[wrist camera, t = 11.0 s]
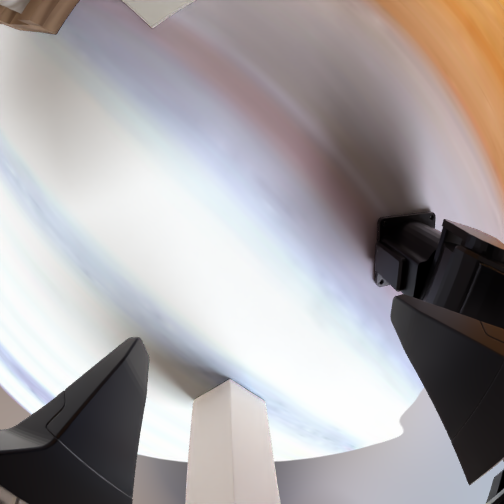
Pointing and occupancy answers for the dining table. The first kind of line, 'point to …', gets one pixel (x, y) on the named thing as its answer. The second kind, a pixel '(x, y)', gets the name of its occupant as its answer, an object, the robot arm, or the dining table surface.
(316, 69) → the dining table surface
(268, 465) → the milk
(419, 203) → the dining table surface
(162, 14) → the grey mat
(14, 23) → the white candle wooden holder
